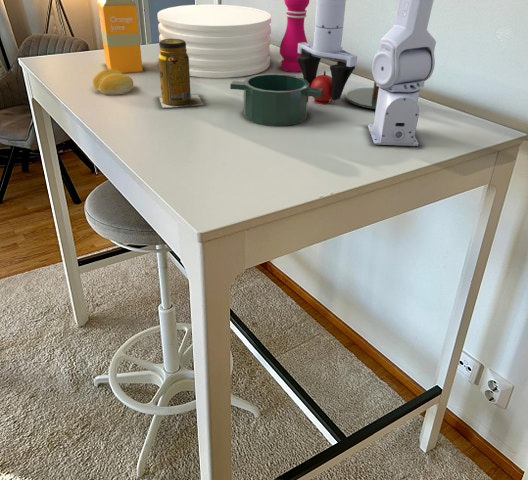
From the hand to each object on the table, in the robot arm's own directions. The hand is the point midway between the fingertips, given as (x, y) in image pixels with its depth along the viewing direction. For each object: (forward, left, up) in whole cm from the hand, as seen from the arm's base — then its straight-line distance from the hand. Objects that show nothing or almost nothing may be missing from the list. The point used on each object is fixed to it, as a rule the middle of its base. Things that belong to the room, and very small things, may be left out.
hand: (322, 94), depth 117 cm
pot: (-10, +10, -1) cm, 14 cm away
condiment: (-4, +30, -2) cm, 30 cm away
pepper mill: (+26, +6, -2) cm, 27 cm away
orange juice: (+21, +48, -2) cm, 52 cm away
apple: (0, 0, -1) cm, 1 cm away
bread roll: (+3, +46, -2) cm, 46 cm away
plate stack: (+29, +26, -2) cm, 39 cm away
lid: (+1, -12, -1) cm, 12 cm away
